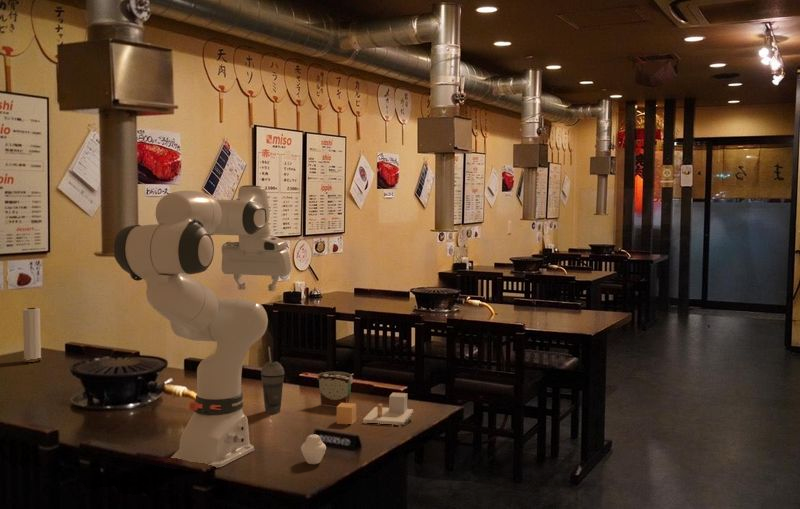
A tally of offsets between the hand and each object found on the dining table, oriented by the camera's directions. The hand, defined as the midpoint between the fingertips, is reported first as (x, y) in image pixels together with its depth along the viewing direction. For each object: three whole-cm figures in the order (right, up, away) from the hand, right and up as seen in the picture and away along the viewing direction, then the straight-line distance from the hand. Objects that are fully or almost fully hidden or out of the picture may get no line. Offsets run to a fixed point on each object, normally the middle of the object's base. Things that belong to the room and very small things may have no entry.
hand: (256, 290), depth 216 cm
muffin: (+20, -41, -30) cm, 55 cm away
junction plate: (+38, -39, +9) cm, 55 cm away
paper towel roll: (-105, -33, +84) cm, 138 cm away
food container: (+21, -38, +24) cm, 49 cm away
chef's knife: (+39, -40, -2) cm, 56 cm away
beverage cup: (+2, -38, +15) cm, 41 cm away
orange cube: (+25, -39, +4) cm, 47 cm away
